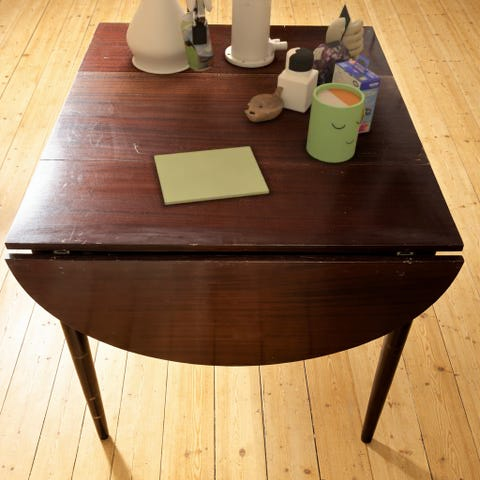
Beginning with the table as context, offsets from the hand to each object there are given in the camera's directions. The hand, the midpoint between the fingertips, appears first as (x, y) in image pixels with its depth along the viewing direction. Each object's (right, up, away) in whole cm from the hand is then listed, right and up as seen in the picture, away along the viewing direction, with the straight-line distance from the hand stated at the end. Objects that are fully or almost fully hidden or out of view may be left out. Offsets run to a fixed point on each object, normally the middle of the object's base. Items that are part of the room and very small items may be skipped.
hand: (197, 36), depth 139 cm
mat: (+4, -36, -18) cm, 40 cm away
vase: (-10, +1, +16) cm, 19 cm away
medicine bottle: (+23, -14, +3) cm, 27 cm away
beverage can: (0, -5, +6) cm, 7 cm away
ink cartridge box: (+34, -21, -3) cm, 40 cm away
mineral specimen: (+31, -6, +11) cm, 34 cm away
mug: (+30, -28, -10) cm, 42 cm away
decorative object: (+36, +2, +19) cm, 40 cm away
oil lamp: (+16, -18, -1) cm, 24 cm away
